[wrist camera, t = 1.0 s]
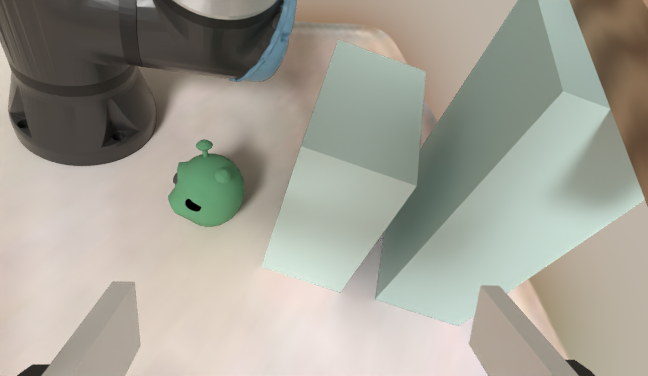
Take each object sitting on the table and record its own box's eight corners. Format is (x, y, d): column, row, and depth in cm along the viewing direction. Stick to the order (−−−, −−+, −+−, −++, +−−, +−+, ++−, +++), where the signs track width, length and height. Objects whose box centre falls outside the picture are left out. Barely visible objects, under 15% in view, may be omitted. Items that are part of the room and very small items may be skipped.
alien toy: (159, 201, 47) (155, 139, 39) (223, 180, 51) (231, 121, 43) (184, 252, 44) (184, 196, 36) (250, 226, 48) (263, 172, 40)
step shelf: (296, 165, 55) (378, -82, 32) (457, 220, 57) (644, 22, 34) (261, 267, 45) (344, 14, 22) (458, 330, 47) (722, 155, 24)
